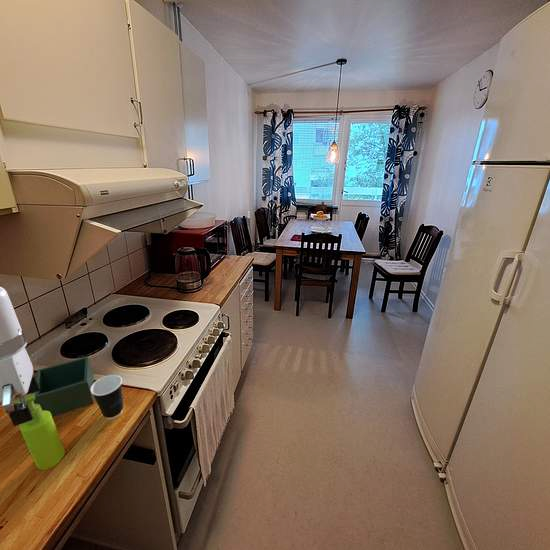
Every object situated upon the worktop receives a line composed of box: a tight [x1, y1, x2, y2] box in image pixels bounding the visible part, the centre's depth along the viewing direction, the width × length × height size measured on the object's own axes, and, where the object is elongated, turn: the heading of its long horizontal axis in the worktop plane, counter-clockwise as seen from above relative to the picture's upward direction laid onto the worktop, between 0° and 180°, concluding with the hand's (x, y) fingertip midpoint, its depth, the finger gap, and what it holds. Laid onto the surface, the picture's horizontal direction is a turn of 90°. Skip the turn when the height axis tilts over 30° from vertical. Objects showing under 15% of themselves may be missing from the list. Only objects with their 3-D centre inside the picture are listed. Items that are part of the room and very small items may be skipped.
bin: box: [30, 356, 95, 418], centre depth 89 cm, size 14×14×9 cm
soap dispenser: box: [3, 393, 66, 471], centre depth 68 cm, size 6×7×20 cm
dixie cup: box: [90, 374, 124, 421], centre depth 83 cm, size 8×8×11 cm
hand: (28, 406), depth 65 cm, fingers open, 9 cm apart
